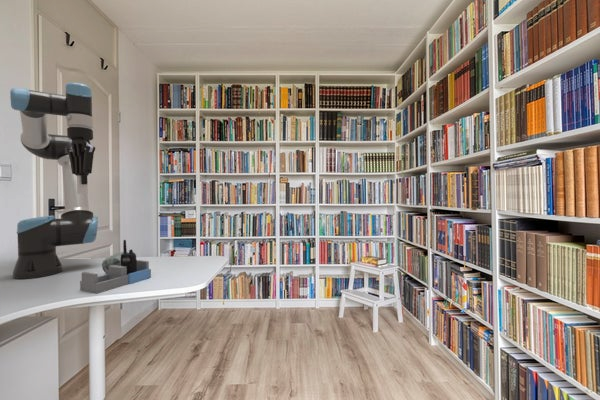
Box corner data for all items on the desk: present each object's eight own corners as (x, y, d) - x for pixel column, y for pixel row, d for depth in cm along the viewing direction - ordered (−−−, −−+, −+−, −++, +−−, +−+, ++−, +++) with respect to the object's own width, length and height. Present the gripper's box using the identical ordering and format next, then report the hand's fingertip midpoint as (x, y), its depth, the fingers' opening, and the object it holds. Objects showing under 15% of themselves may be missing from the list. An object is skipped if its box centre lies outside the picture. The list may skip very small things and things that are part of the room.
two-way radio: (119, 281, 110) (117, 240, 110) (126, 277, 115) (125, 238, 114) (134, 280, 110) (132, 240, 110) (140, 277, 114) (139, 238, 114)
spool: (120, 269, 113) (113, 246, 116) (98, 281, 114) (92, 257, 117) (144, 269, 127) (137, 248, 129) (125, 279, 127) (118, 258, 130)
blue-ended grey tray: (80, 289, 100) (79, 272, 100) (135, 274, 119) (134, 259, 118) (98, 293, 96) (97, 275, 96) (152, 277, 115) (151, 261, 114)
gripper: (57, 128, 107) (60, 194, 108) (79, 124, 101) (82, 193, 102) (80, 131, 114) (82, 193, 114) (102, 128, 108) (104, 193, 109)
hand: (82, 193), depth 108 cm, fingers closed
